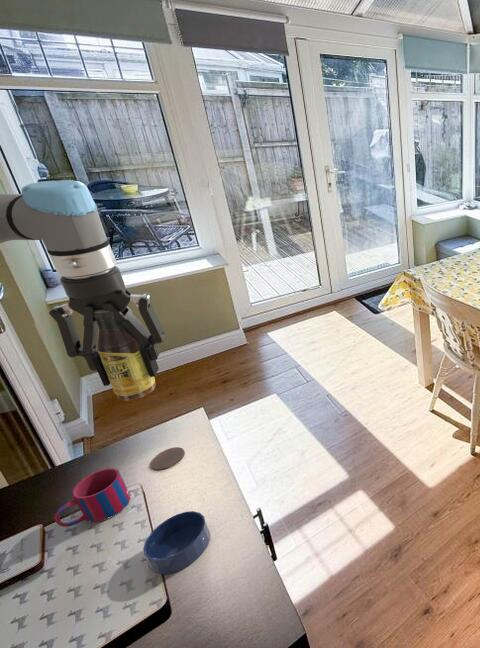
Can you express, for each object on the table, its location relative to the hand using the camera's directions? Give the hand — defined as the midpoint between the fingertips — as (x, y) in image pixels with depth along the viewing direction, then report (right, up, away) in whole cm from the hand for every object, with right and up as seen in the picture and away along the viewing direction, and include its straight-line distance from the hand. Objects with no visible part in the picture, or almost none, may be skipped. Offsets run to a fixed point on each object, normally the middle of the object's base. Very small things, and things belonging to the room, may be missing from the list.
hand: (132, 376), depth 81 cm
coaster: (-2, -22, +12) cm, 25 cm away
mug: (-6, -27, 0) cm, 28 cm away
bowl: (+14, -30, -6) cm, 34 cm away
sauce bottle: (0, -4, +2) cm, 4 cm away
